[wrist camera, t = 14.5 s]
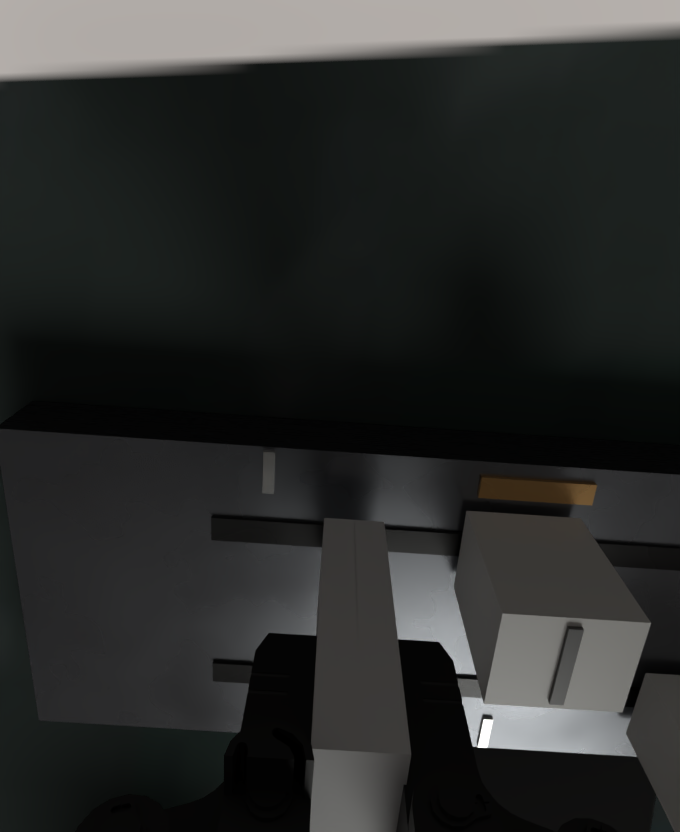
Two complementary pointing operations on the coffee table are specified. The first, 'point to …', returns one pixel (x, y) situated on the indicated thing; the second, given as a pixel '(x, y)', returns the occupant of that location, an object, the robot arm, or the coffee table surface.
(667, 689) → the fader
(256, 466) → the console
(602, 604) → the block
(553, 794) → the smartphone
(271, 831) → the robot arm
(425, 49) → the coffee table surface
